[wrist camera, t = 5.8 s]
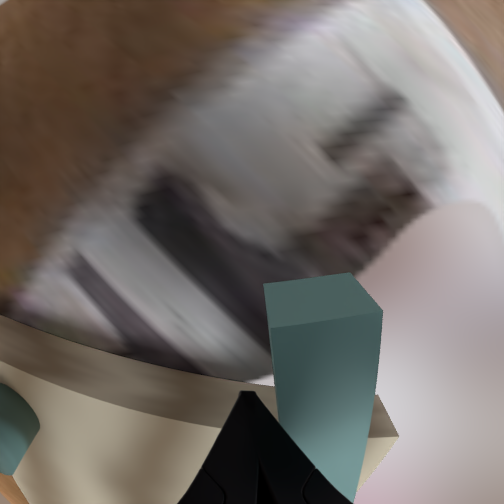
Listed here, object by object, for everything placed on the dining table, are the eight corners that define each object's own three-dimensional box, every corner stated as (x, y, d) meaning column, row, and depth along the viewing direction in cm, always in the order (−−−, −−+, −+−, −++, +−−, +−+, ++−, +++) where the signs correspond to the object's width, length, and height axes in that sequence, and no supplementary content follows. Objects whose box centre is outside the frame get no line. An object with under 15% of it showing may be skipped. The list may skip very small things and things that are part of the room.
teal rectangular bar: (337, 485, 12) (348, 531, 9) (286, 494, 12) (291, 542, 9) (349, 272, 9) (390, 319, 6) (263, 283, 9) (271, 338, 6)
